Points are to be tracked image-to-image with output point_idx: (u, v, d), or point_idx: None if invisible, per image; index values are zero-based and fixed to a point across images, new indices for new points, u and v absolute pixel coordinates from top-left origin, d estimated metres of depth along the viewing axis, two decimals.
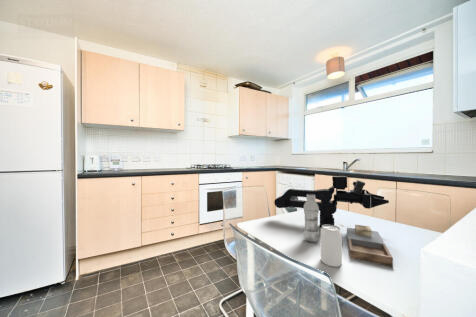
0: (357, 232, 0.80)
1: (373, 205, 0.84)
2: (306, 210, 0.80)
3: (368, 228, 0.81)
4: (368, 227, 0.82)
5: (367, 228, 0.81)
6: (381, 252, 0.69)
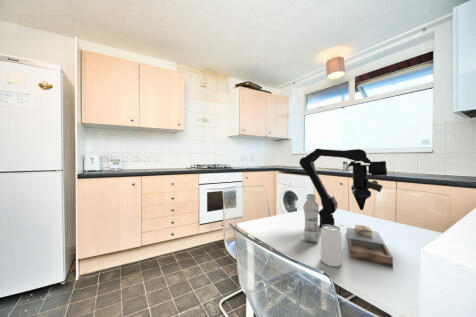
0: (357, 232, 0.80)
1: (356, 197, 0.85)
2: (306, 210, 0.80)
3: (368, 228, 0.81)
4: (368, 227, 0.82)
5: (367, 228, 0.81)
6: (381, 252, 0.69)
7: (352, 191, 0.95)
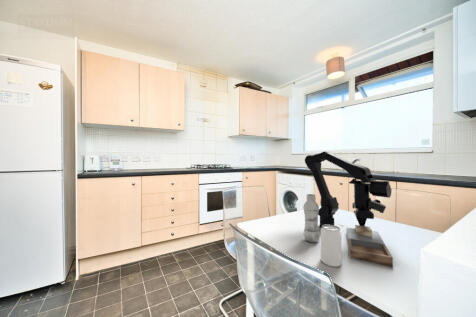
0: (357, 232, 0.80)
1: (357, 216, 0.84)
2: (306, 210, 0.80)
3: (368, 228, 0.80)
4: (368, 227, 0.81)
5: (367, 228, 0.80)
6: (381, 252, 0.69)
7: (354, 211, 0.88)
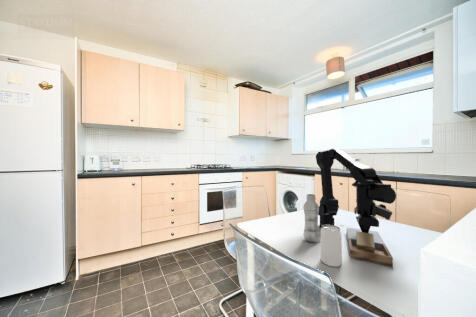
0: (358, 246, 0.72)
1: None
2: (306, 210, 0.80)
3: (371, 241, 0.71)
4: (371, 237, 0.72)
5: (370, 241, 0.71)
6: (381, 252, 0.69)
7: (356, 217, 0.78)
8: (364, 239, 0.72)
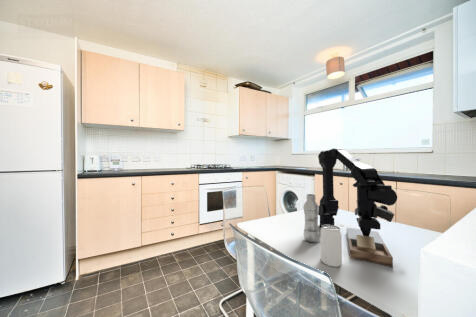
0: (358, 249, 0.70)
1: None
2: (306, 210, 0.80)
3: (372, 243, 0.69)
4: (372, 240, 0.70)
5: (370, 243, 0.69)
6: (381, 252, 0.69)
7: (357, 219, 0.76)
8: (364, 241, 0.70)
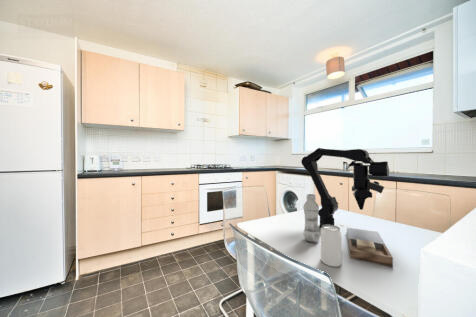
0: (358, 249, 0.70)
1: (356, 197, 0.86)
2: (306, 210, 0.80)
3: (371, 244, 0.70)
4: (371, 243, 0.71)
5: (370, 244, 0.70)
6: (381, 252, 0.69)
7: (353, 193, 0.90)
8: (364, 243, 0.71)
